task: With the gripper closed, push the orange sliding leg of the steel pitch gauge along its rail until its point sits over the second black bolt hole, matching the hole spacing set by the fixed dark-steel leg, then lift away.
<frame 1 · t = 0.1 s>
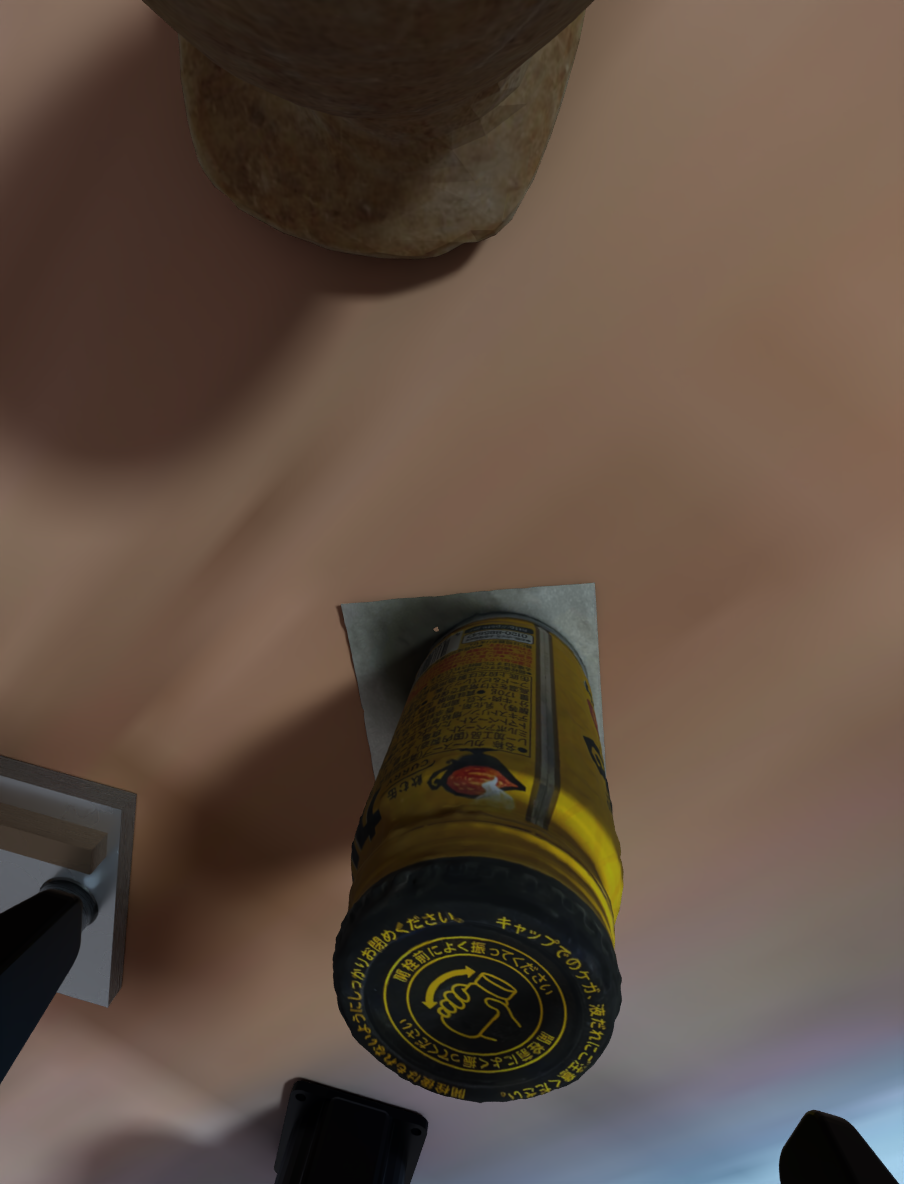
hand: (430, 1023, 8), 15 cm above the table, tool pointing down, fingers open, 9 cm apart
condiment: (477, 686, 23), on the table
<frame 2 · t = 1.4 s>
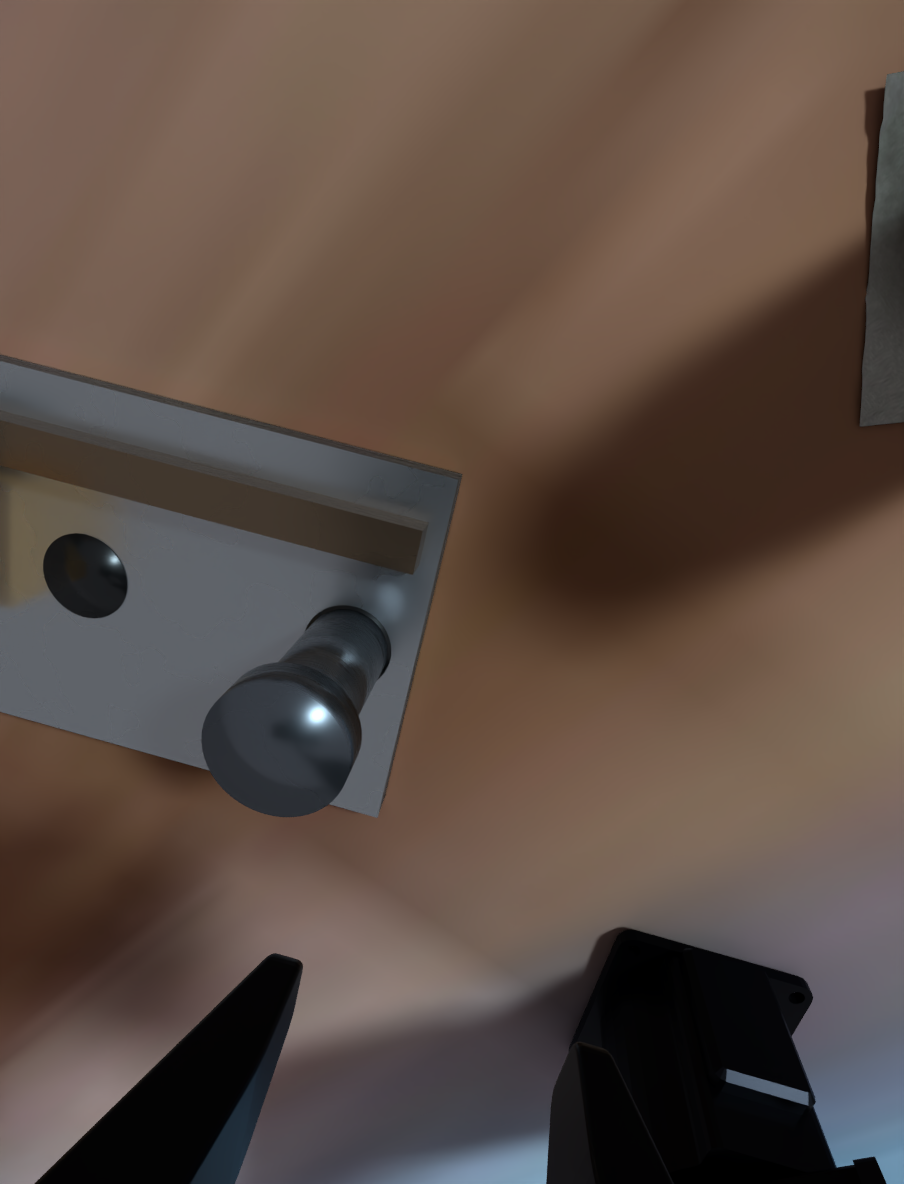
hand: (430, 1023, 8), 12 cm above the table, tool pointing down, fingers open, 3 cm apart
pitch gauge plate: (168, 583, 20), on the table
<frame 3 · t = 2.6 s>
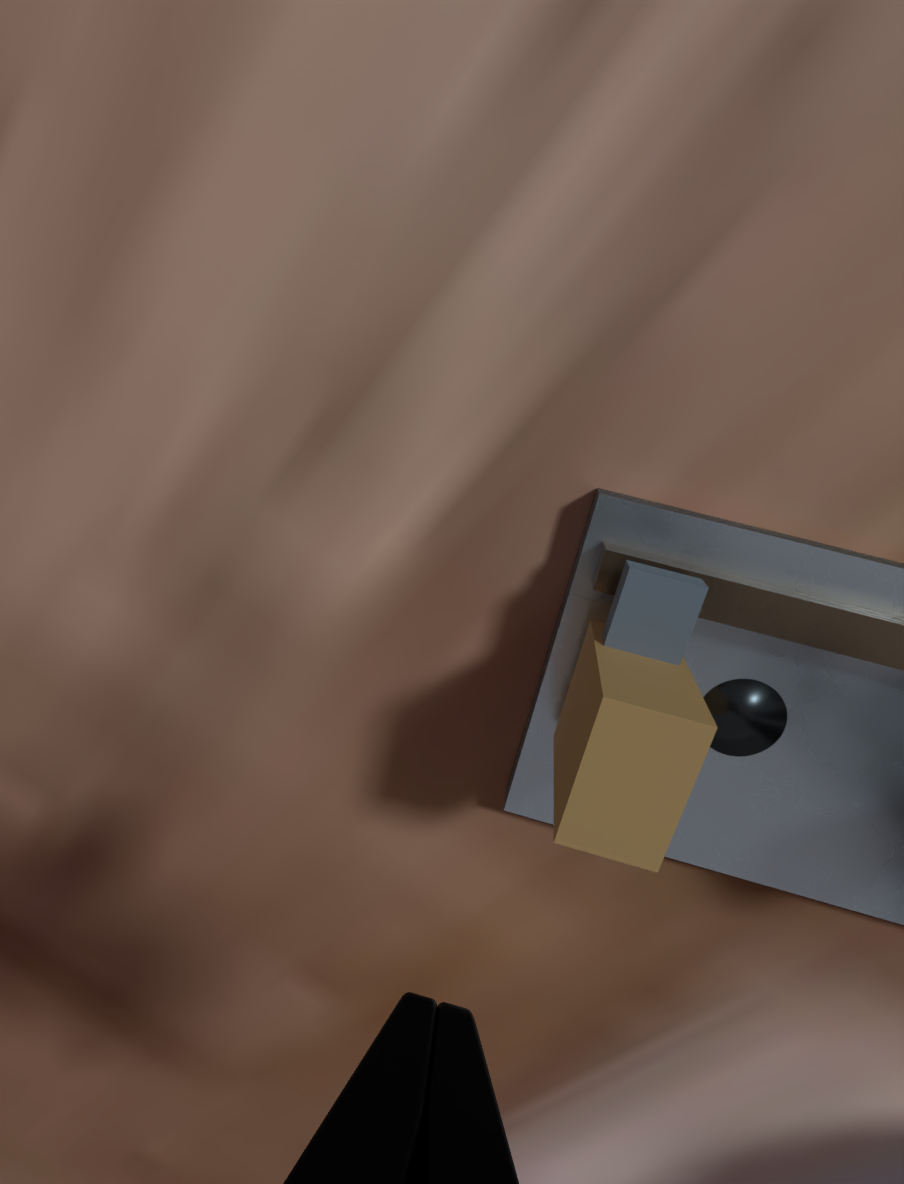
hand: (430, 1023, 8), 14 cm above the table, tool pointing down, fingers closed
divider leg: (633, 694, 17), point 4 cm above the table, slide at 4.0 cm
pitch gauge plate: (795, 719, 20), on the table
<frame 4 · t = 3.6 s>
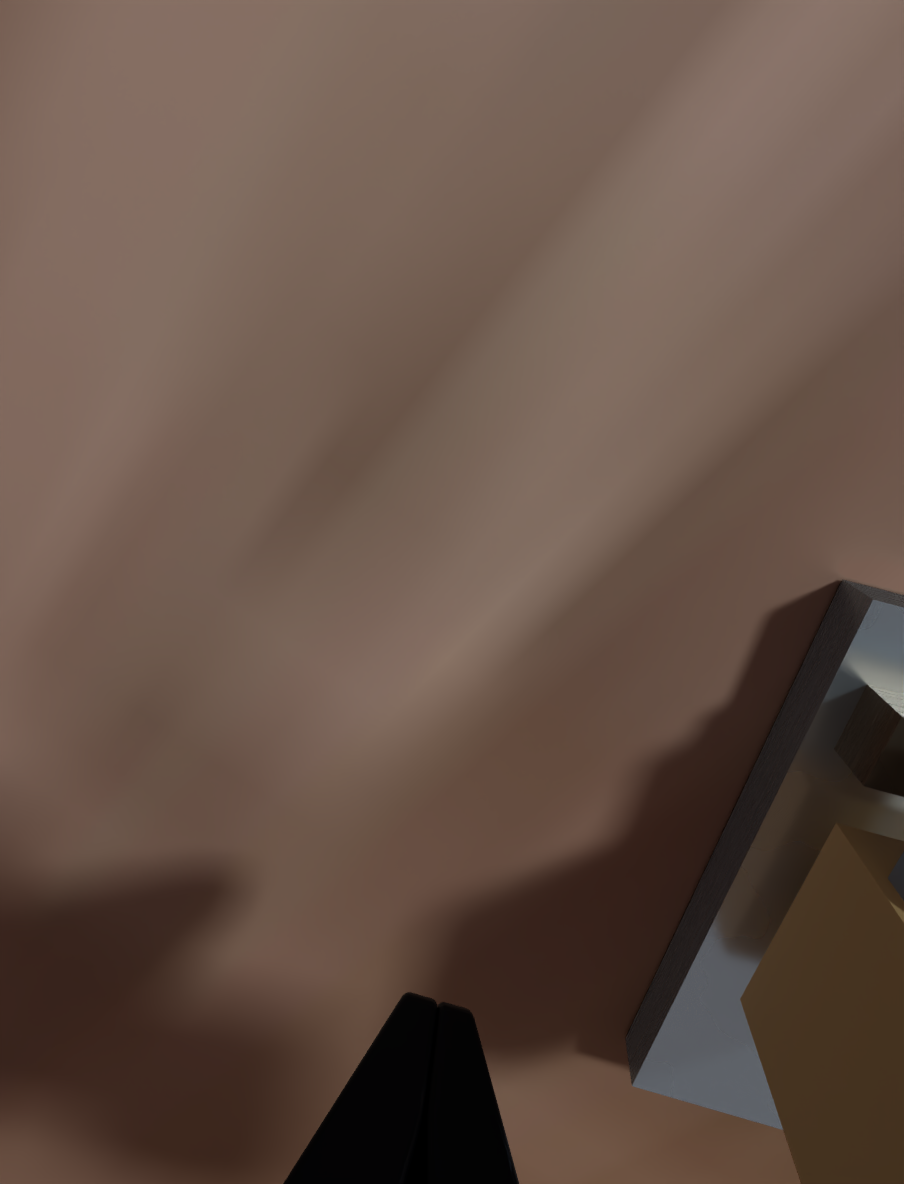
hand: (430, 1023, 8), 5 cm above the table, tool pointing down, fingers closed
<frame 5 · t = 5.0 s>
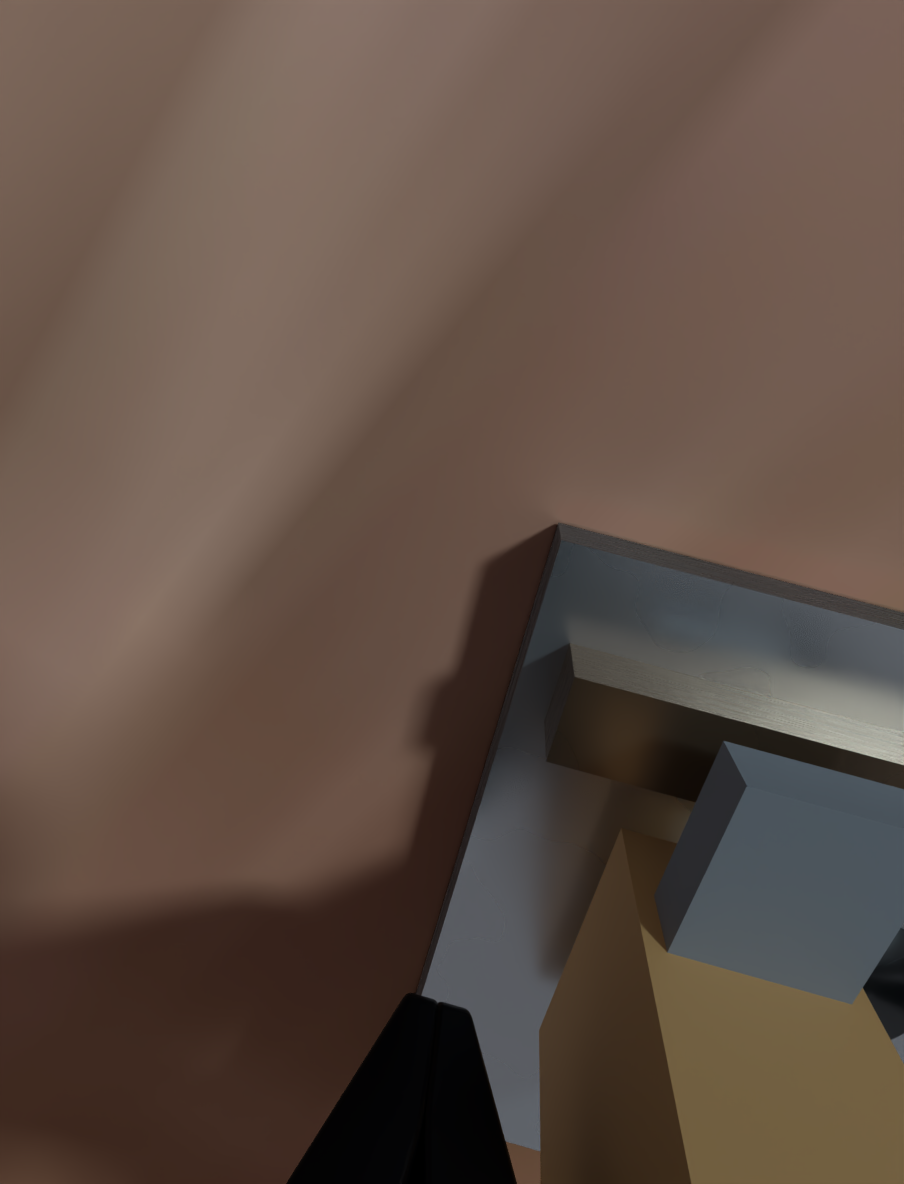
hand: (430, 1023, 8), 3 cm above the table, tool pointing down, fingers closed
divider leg: (741, 1085, 7), point 4 cm above the table, slide at 2.9 cm, touching gripper
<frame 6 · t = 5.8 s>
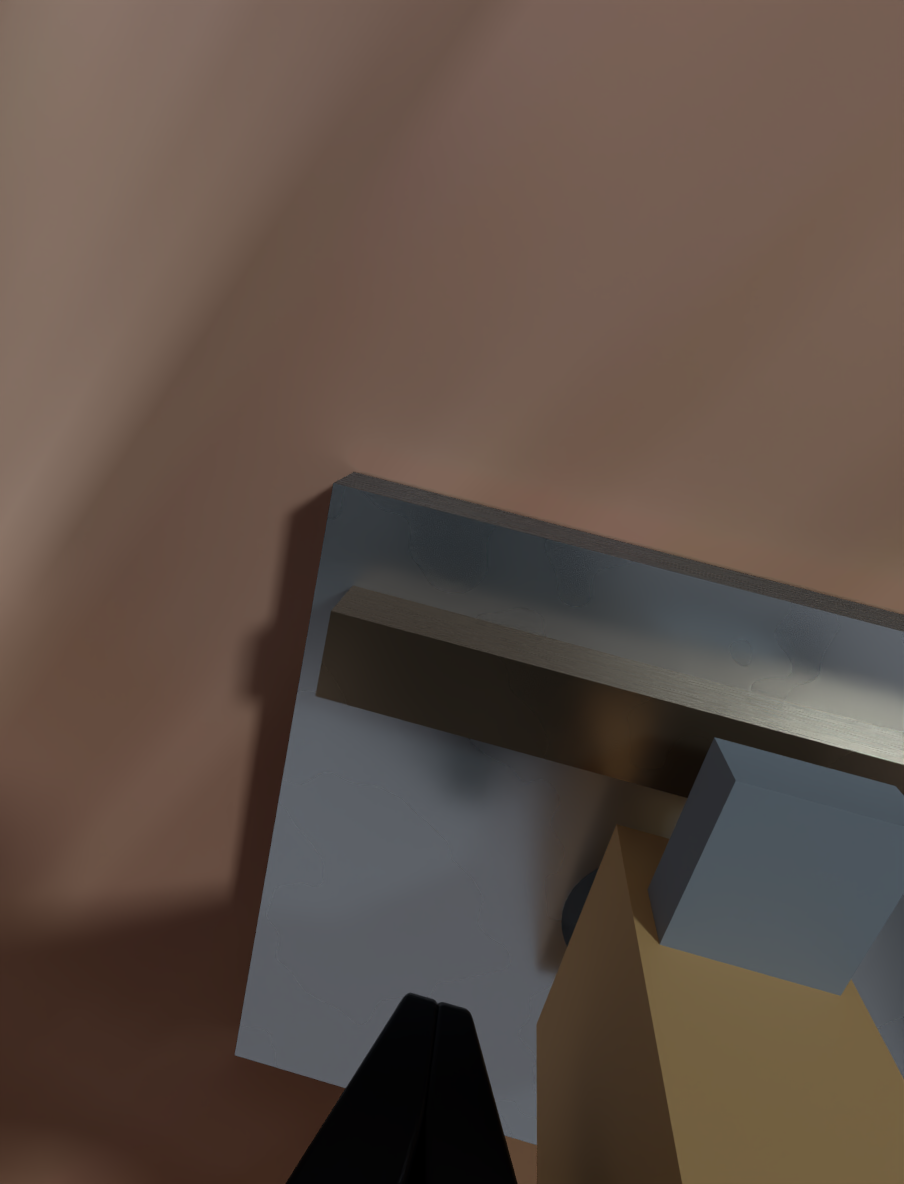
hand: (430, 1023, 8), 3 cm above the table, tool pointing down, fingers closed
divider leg: (732, 1074, 7), point 4 cm above the table, slide at -0.1 cm, touching gripper
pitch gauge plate: (753, 911, 11), on the table
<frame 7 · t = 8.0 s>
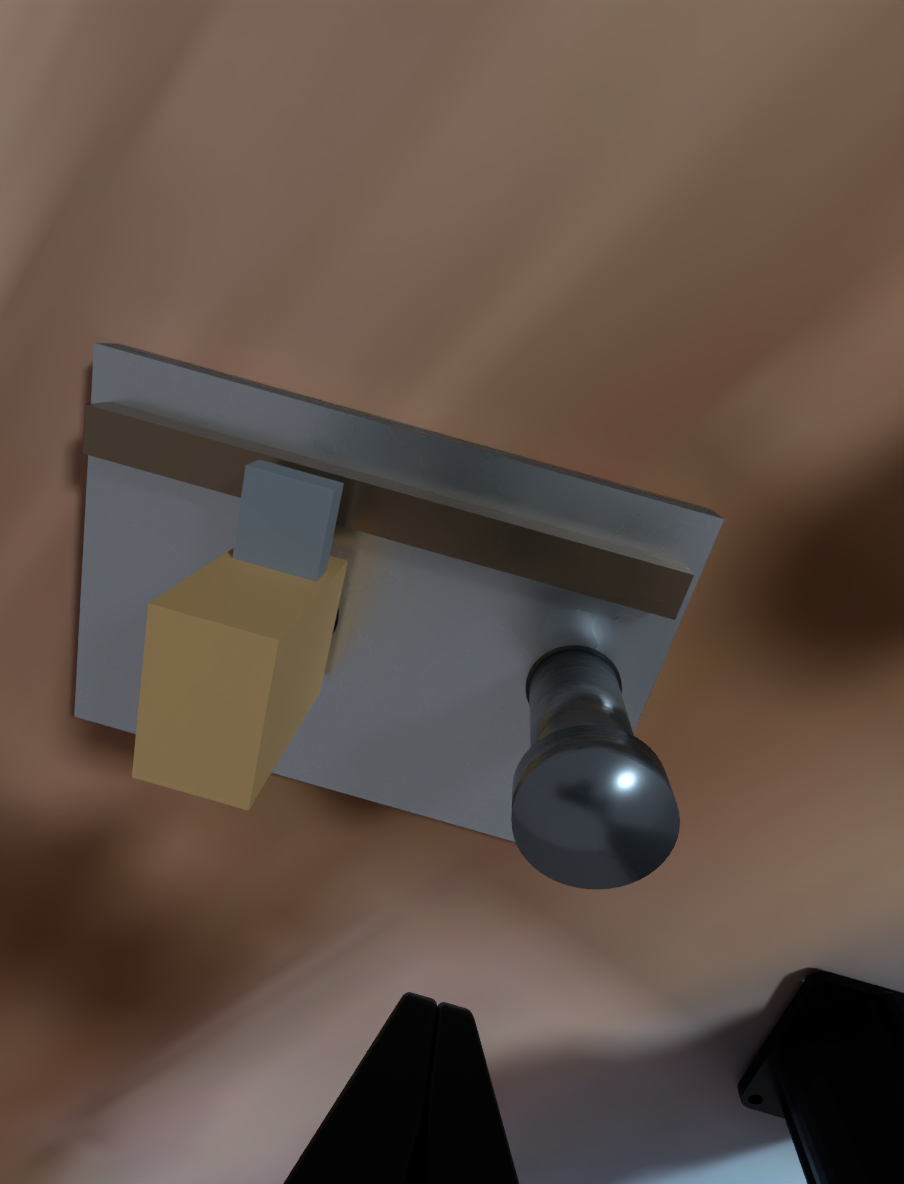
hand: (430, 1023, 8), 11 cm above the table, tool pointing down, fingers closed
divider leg: (259, 613, 15), point 4 cm above the table, slide at -0.1 cm
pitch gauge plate: (370, 615, 19), on the table
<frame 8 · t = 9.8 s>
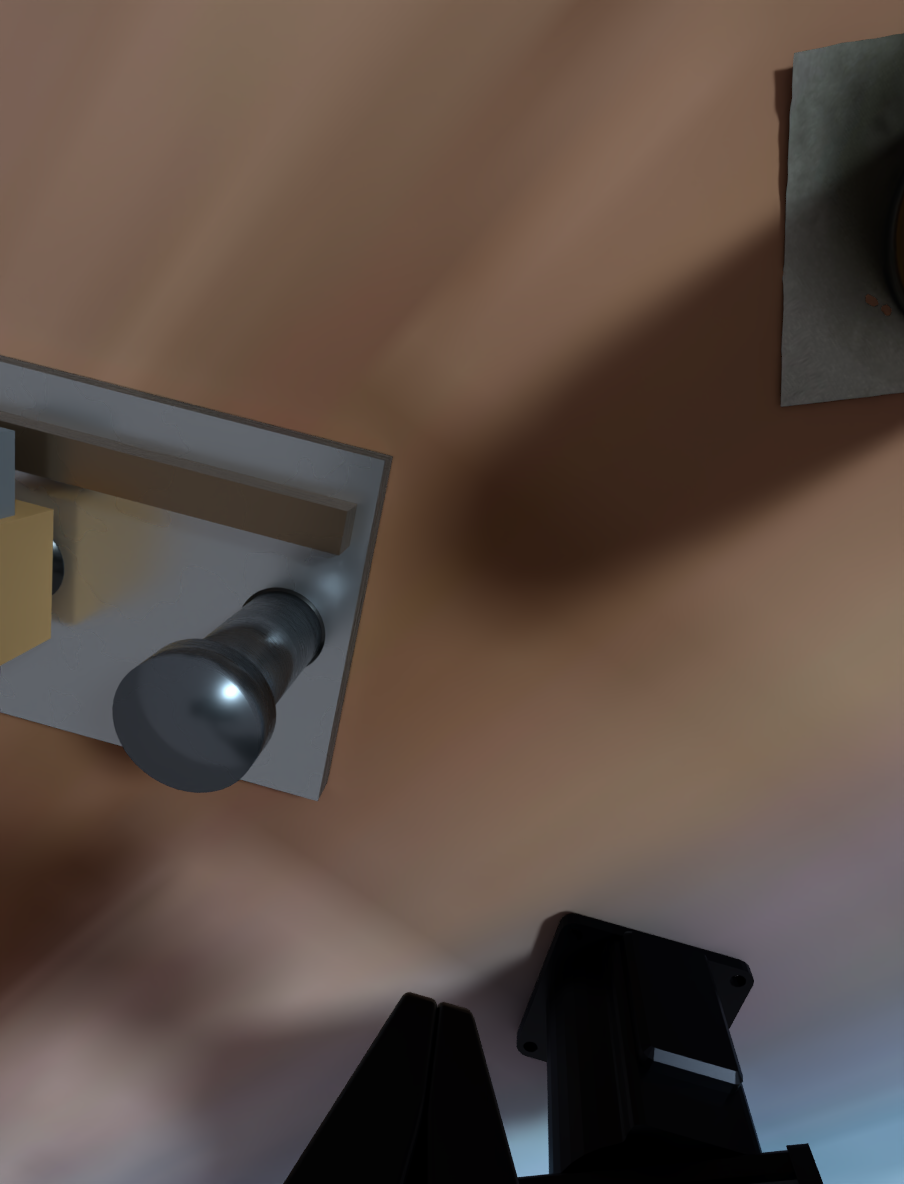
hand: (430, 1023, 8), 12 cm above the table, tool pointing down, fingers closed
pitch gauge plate: (107, 567, 20), on the table
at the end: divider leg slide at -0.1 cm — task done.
